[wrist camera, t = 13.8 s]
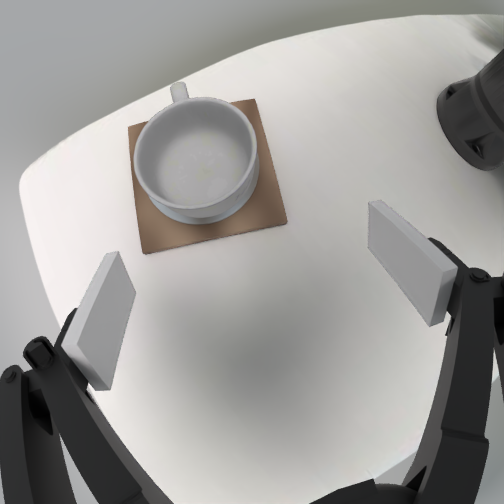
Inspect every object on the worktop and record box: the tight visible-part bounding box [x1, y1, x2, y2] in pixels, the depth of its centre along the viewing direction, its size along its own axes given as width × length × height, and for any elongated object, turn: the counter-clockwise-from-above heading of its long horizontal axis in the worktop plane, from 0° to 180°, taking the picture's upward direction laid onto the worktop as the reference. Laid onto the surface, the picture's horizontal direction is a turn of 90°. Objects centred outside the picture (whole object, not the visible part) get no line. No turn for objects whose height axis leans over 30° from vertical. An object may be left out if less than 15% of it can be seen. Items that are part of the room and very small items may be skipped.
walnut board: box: [128, 99, 288, 254], centre depth 34 cm, size 16×16×2 cm
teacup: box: [134, 82, 257, 218], centre depth 29 cm, size 14×11×8 cm
